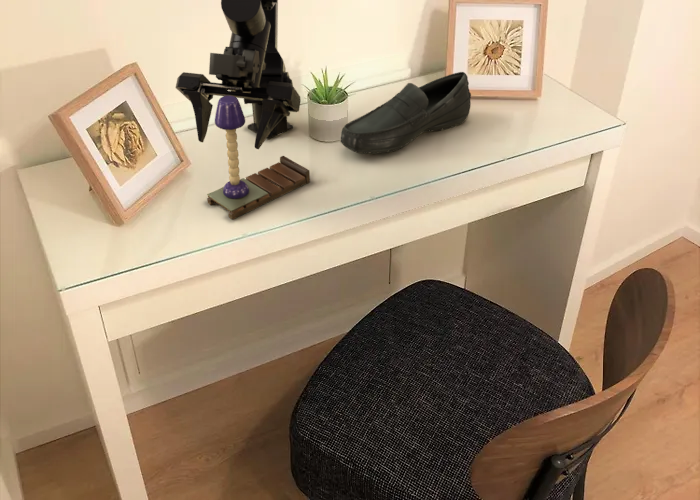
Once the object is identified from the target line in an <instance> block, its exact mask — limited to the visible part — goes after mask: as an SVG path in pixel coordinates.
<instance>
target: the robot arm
mask: <svg viewBox="0 0 700 500" xmlns="http://www.w3.org/2000/svg"><path fill="white" fill-rule="evenodd" d="M220 6H221V7H220V8H221V10H222V13H223V15H224V18H225V20H226V22H227V25H228V27H229V30H230V32H231V34H230V40H229V45H228V46H225V48H224V50H223V53H218V52H217V53H216V52H209V64H208V65H209V67H208V75H209V76H210V75H211V76H215V78H216V79H217V80H219V81H221V83H219V82H212V81H211V80H209V79H208V78H207V77H206V76H205V74H203V73H195V72H184V71H183V72H181V74H179V76H178V77H177V78H176V84H175V89H176V90H177V91H178V92H179V93H180V94H181V95H182V96H184V97H185V98H186V99H187V100H188V101H189V102H190V103H191V106H192V109H193V113H194V119H195V126H196V132H197V133H196V134H197V139H198V141H199V142H200V143H204V141H205V138H206V136H207V132H208V129H209V125H210V119H211V115H212V109H213V107H214V104H212V103H211V102H210V101H211V100H212V99H213V98H214V96H218V97H223V96H234V97H236V98H237V99H243V103H244V105H248V104H250V105H251V108H252V118H253V122H252V123H250V124H248V125H247V129H248V130H250V131H252V132H254V133H255V134H256V135H255V141H254V148H255V149H256V150H260V149H261V147H262V146H263V144H264V143H265V141H266V140H270V139H272V138H274V137H276V136H279V135H282V134H284V133H286V132H288V131H290V130H293V129H294V125H293V124H291V123H289V122H288V117H290V116H291V113H297V112H298V113H299V112H300V108H301V101H302V100H301V95H300V94H299V92H298V90H297V89H296V88H295V87H294V84H293V79H291V76H290V74H289V71H287V70H286V69H287V68H286V65H285V63H284V62H285V61H284V59H283V57H282V56H281V54H280V52H279V51H278V36H279V35H278V34H279V33H278V31H279V29H278V27H279V24H278V23H279V0H220Z"/></svg>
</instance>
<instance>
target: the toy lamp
mask: <svg viewBox="0 0 700 500" xmlns="http://www.w3.org/2000/svg"><path fill="white" fill-rule="evenodd" d="M216 105H217V106H216V111H215V116H214V125H215V126H216V128H219V129H220V130H223V131H225V140H226V149H227V153H226V155H227V165H228V174H229V175H228V178H229V179H228V180H229V181H227V182H226V183H225V184H224V186H223V187H224V188H223V187H222V188H223V194H224V195H225V196H226V197H228V198H232V199H238V198H242V197H244V196H246V195H247V194H248V193H249V188H248V186H247V184H246V183H245V182H244V181H241V180H240V179H241V177H240V167H239V165H240V159H239V150H238V146H239V145H238V141H237V140H238V134H237V129H241V128H242V127H243V126H244V125H245V124H246V117H245V114H244V112H243V109H242V106H241V103H240V101H239V98H236V97H234V96H220V98H219V99H218V100H217V104H216Z"/></svg>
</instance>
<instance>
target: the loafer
mask: <svg viewBox="0 0 700 500" xmlns="http://www.w3.org/2000/svg"><path fill="white" fill-rule="evenodd" d="M469 84H470V83H469V78H468V75H467V73H466V72H464V71H459V72H455V73H451V74H447V75H445V76H442V77H439V78H436V79H434V80H432V81H429V82H427V83H425V84H424V85H421V86H417V85H416V84H414V83H412V82H408V83H407V84H406V85H405V86H404V87H403V88H402V89H401V90H400V91H399V92H398V93H396V94H395V95H394V96H392V97H391V98H390V99H389V100H388V101H386V102H384V103H382V104H381V105H379V106H377V107H376V108H374V109H372V110H371V111H369V112H366V113H365V114H364V115H362V116H359V117H358V118H356V119H353V120H352V121H350V122H347V123H345V125H344V126H343V127H342V129H341V132H340V144H342V145H343V146H344V147H345V148H346V149H347V150H350V151H351V152H355V153H358V154H367V155H368V154H385V153H388V152H389V153H392V152H396V151H398V150H400V149H402V148H404V147H406V146H407V145H408V144H410V143H411V142H412V141H414V140H415V139H416V138H417V137H418V136H420V135H421V134H423V133H427V132H429V133H430V132H440V131H442V130H449V129H451V128H454V127H455V126H459V125H461V124H463V123H464V122H466V120H467V118H469V117H468V116H469V114H470V110H471V106H472V105H471V104H472V103H471V98H472V93H471V92H470V87H469V86H470V85H469Z"/></svg>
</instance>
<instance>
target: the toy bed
mask: <svg viewBox="0 0 700 500" xmlns="http://www.w3.org/2000/svg"><path fill="white" fill-rule="evenodd" d="M240 180H241V181H244V182H245V183H246V184H247V186H248V188H249V193H248V194H247V195H246V196H244V197H242V198H238V199H232V198H228V197H226V196H225V195H224V194H223V188H224V186H222V187H220V188H218V189H217V190H213V191H212V192H209V193H208V194H207V197H206V201H207V204H208V205H210V206H213V205H215V204H217V205H219V206H220V207H222V208H223V209H224V210H226V211H228V212H227V213H228V218H229V219H231V220H232V221H233V220H235V219H237V218H239V217H241V216H243V215H245V214H247V213H249V212H251V211H253V210H255V209H257V208H259V207H261V206H263V205H266V204H267V203H270V202H272V201H274V200H276V199H278V198H280V197H282V196H284V195H286V194H288V193H290V192H292V191H294V190H296V189H298V188H301V187H302V186H304V185H308V184H310V183H311V173H310V169H308V168H307V167H305V166H303V165H301V164H300V163H298V162H296V161H294V160H292V159H290V158H288V157H287V156H285V155H281V156H279V161H278V162H276V163H274V164H271V165H270V166H269V167H266V168H263V169H261V170H259V171H257V172H254V173H251V174H250V175H247V176H246V177H245V178H244V177H242V178H240Z"/></svg>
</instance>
